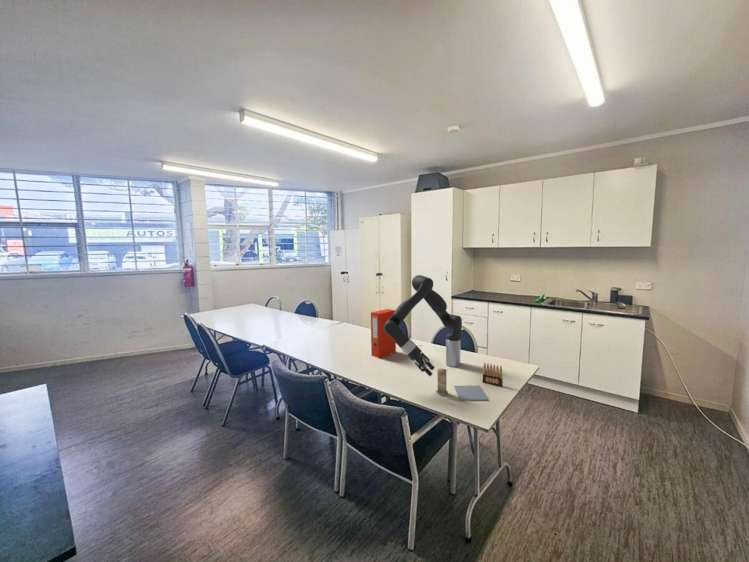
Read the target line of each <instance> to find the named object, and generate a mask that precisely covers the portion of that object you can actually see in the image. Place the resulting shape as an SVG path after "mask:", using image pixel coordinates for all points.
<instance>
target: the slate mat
mask: <svg viewBox="0 0 749 562" xmlns="http://www.w3.org/2000/svg"><path fill="white" fill-rule="evenodd" d="M454 387H455V388H454ZM453 388H454V389H455V392H456V393H457V397H458V398H460V399H459V400H460V402H461V401H462V400H463V401H464V400H472V401H475V400H477V401H478V400H481V401H488V402H489V398H488V397H487V394H486V393H485V392H484V390H483V389H482V387H481V385H453ZM472 401H471V402H472ZM477 401H476V402H477ZM464 402H465V401H464Z"/></svg>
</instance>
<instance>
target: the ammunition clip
mask: <svg viewBox="0 0 749 562" xmlns="http://www.w3.org/2000/svg"><path fill="white" fill-rule="evenodd" d="M502 367H503V366H502V365H500V366H499V365H498V364H497V365H496V364H494V363H493V365H492V363H490V364H489V363H488V362H487V364H486V362H484V363H483V369H482V383H483V384H486V385H491V386H495V387H499V388H502V387H503V385H504V384H503V368H502Z"/></svg>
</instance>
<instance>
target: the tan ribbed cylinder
mask: <svg viewBox="0 0 749 562" xmlns="http://www.w3.org/2000/svg"><path fill="white" fill-rule="evenodd" d="M435 393H437V394H438V396H439V395H441V397H446V396H448V395H447V394H448V393H449V392H448V391H447V369H446V368H443V367H442V368H441V367H440V368H438V369H437V389H436V391H435ZM437 394H436V395H437ZM445 395H446V396H445Z"/></svg>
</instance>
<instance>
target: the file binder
mask: <svg viewBox="0 0 749 562" xmlns="http://www.w3.org/2000/svg"><path fill="white" fill-rule="evenodd" d="M395 310H396V309H392V308H386V309H385V308H384V309H382V310H376V311H372V312H370V342H371V343H370V345H371V346H370V347H371V348H370V349H371V351H370V353H371V356H372V357H374V356H375V358H376V357H378V358H377V359H380V357H381V358H383V356H384V357H386V356H385V355H387V356H390V355H392V354H391V353H393V354H395V353H396V352H397V344H396V342H395V341H394V339H393V338H392V337H391V336H390V335H389V334H386V333H385V332H384V330H383V326H384V324H385V323H386V322H387V321H388V319H389V318H390V317H391V316H392V315H393V313H394V311H395ZM394 352H395V353H394ZM389 354H390V355H389Z"/></svg>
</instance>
